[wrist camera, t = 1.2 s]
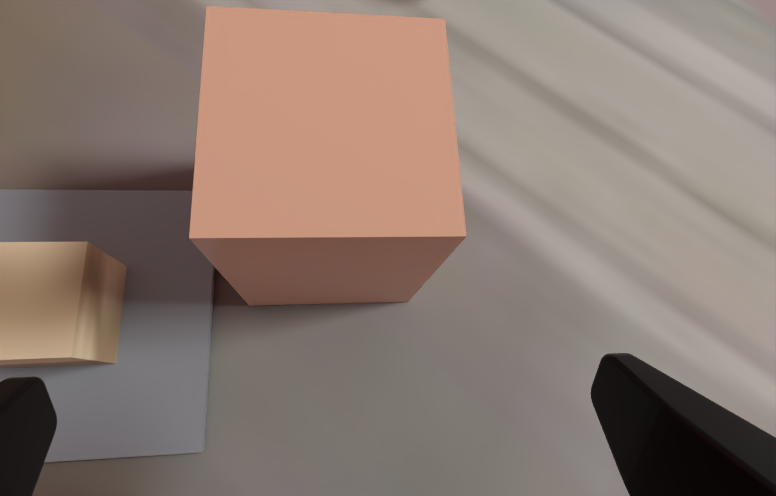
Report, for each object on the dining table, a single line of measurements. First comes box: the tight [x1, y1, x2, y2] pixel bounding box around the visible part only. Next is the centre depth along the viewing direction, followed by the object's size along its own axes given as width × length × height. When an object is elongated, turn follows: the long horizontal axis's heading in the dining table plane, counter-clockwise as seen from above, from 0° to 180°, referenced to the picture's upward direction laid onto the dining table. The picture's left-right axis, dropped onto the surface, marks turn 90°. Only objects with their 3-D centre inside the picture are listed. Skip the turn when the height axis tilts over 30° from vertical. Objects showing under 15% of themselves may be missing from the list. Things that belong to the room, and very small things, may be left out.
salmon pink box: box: [189, 6, 466, 306], centre depth 18 cm, size 7×7×10 cm
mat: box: [0, 189, 215, 462], centre depth 19 cm, size 11×11×1 cm
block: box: [0, 241, 127, 368], centre depth 18 cm, size 4×4×4 cm
